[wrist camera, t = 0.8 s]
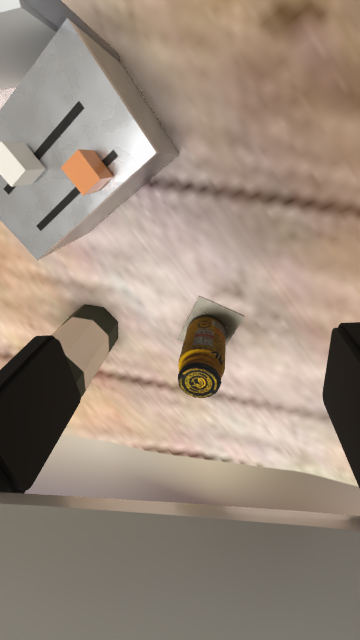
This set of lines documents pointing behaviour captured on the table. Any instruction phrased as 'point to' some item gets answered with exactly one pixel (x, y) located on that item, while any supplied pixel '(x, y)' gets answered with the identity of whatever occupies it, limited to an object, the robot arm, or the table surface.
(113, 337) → the wine bottle
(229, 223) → the table surface
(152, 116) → the white slider console
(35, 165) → the fader
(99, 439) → the table surface
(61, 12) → the door
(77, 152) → the fader
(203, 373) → the condiment
